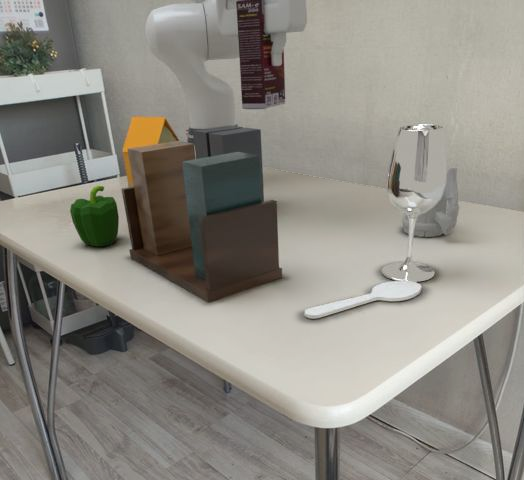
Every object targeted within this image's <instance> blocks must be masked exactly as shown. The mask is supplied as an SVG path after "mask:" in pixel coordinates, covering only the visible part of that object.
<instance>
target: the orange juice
mask: <svg viewBox="0 0 524 480" xmlns="http://www.w3.org/2000/svg"><path fill="white" fill-rule="evenodd" d="M130 120H131V121H130V123H129V127H128V130H127V133H126V137H125V140H124V144H123V147H122V156H123V163H124V168H125V173H126V179H127V180H126V181H127V187H132V186H134V185H133V179H132V173H131V167H130V161H129V155H128V148H135V147H142V146H148V145H155V144H161V143H168V142H174V141H180V139H179V137H178V136H177V135H176V133H175V131H174V130H173V128H172V126H171V125H170V123H169V122H168V120H167V119H166V117H165V116H134V115H133V116H131V119H130Z"/></svg>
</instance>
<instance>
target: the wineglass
mask: <svg viewBox="0 0 524 480" xmlns="http://www.w3.org/2000/svg"><path fill="white" fill-rule="evenodd" d="M447 166H448V164H447V149H446V139H445V131H444V126H443V125H438V124H425V123H424V124H422V123H421V124H407V125H402V126H399V127H398V130H397V134H396V137H395V142H394V144H393V148H392V153H391V157H390V161H389V164H388V170H387V175H386V195H387V198H388V200H389V201H390V203H391V204H392V206H393V207H394V208H395V209H397V210H398V212H400V213H402V214H403V215H407V216H408V219H409V234H408V238H407V248H406V257H405V260H404V261H398V262H392V263H390V264H386V265H385V266H383V267H382V269H381V274H382V276H384V277H385V278H386V279H390V280H391V281H404V280H405V281H412V282H417V283H420V282H425V281H428V280H430V279H432V278H433V277H434V276H435V274H436V273H435V270H434V269H433V268H432V267H430V266H429V265H427V264H424V263H420V262H414V260H413V249H414V248H413V247H414V238H415V236H414V229H415V224H416V220H417V217H418V216H419V215H422V214H424V213H426V212H428V211H429V210H431V209H432V208H433V207H435V206H436V205H437V203H438V202H439V201H440V200H441V198H442V196H443V194H444V192H445V187H446V179H447V172H448V167H447Z"/></svg>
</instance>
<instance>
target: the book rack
mask: <svg viewBox="0 0 524 480" xmlns="http://www.w3.org/2000/svg"><path fill="white" fill-rule="evenodd" d="M128 155H129V161H130V167H131V173H132V179H133V185H134V186H132V187H128V186H127V187H123V188H121V195H122V200H123V205H124V211H125V217H126V222H127V229H128V233H129V240H130V245H131V248H130V249H129V250H128V251H129V255H130V259H131V260H134V261H135V262H137V263H139V264H141V265H142V266H144V267H146V268H148V269H149V270H151V271H152V272H154V273H156V274H158V275H160V276H162V277H163V278H165V279H166V280H169V282H172V283H174V284H175V285H177V286H179V287H181V288H182V289H184V290H186V291H187V292H189V293H191V294H192V295H194V296H196V297H198V298H199V299H201V300H203V301H204V302H206V303H212V302H215V301H217V300H221V299H223V298H227V297H229V296H233V295H235V294H239V293H241V292H243V291H247V290H251V289H253V288H256V287H259V286H262V285H265V284H267V283H268V284H269V283H271V282H274V281H277V280H280V279H283V268H282V267H280V255H279V253H280V252H279V227H278V226H279V224H278V201H277V200H274V199H270V200H264V202H262V201H261V181H260V162H259V156H258V155H252V154H247V153H242V152H234V153H228V154H223V155H217V156H211V157H206V158H200V159H196V158H195V149H194V144H192V143H188V142H186V141H182V140H181V141H180V140H179V141H174V142H168V143H161V144H155V145H148V146H142V147H135V148H128Z"/></svg>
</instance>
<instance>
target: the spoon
mask: <svg viewBox="0 0 524 480" xmlns="http://www.w3.org/2000/svg"><path fill="white" fill-rule="evenodd" d="M421 292H422V285H421V283H420V282H412V281H405V280H404V281H395V280H392V281H385V282H382V283H379V284H376V285H374V286H373V287H372V289H371V292H370V293H366V294H363V295H357V296H355V297H350V298H349V297H348V298H346V299H342V300H338V301H332V302H330V303H329V302H328V303H326V304H324V303H323V304H321V305H316V306H315V305H314V306H312V307H309V308H306V309H304V310H303V312H304V313H303V314H304V317H306V318H308V319H312V320H313V319H314V320H315V319H320V318H323V317H326V316H330V315H333V314H337V313H340V312H343V311H346V310H349V309H352V308H355V307H358V306H362V305H365V304H368V303H372V302H375V301H383V302H400V301H407V300H411V299H413V298H415V297H417V296H418V295H420V293H421Z"/></svg>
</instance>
